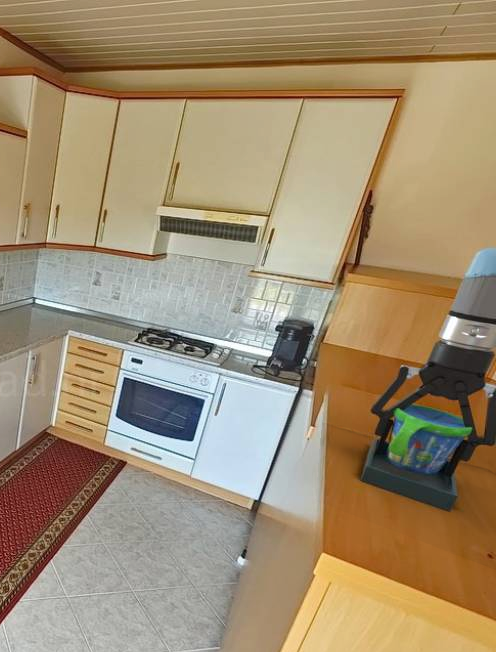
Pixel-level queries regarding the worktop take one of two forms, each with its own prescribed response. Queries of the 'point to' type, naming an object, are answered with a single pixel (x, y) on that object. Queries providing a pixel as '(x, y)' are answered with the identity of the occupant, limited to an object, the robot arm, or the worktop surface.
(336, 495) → the worktop surface
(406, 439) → the snack cup
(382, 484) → the rectangular tray
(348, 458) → the worktop surface
